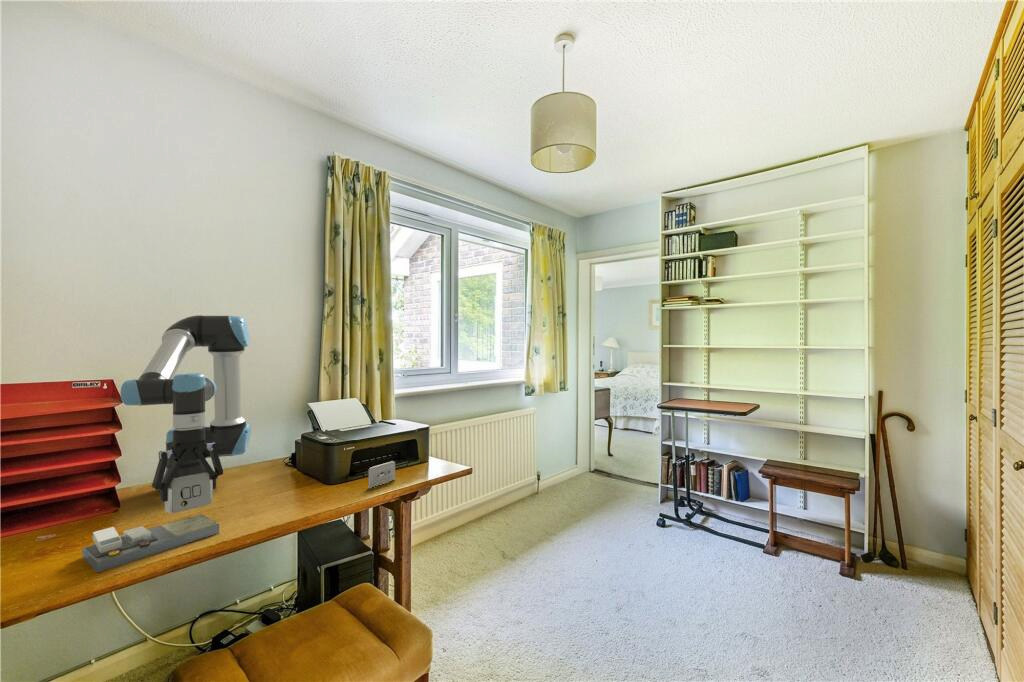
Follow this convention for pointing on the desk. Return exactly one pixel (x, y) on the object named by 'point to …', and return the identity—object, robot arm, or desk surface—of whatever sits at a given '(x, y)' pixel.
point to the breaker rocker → (107, 539)
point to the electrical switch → (190, 492)
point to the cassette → (380, 479)
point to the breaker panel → (150, 541)
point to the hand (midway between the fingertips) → (189, 506)
